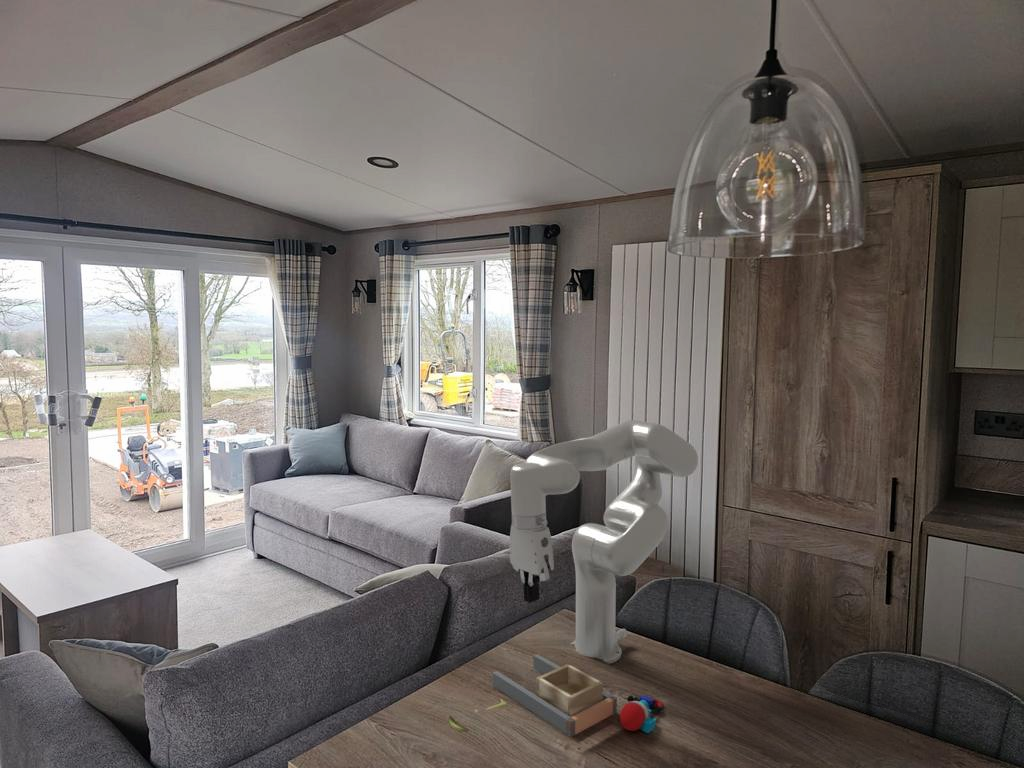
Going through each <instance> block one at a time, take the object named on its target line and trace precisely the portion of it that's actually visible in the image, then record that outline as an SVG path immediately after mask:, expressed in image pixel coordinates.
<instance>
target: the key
mask: <svg viewBox="0 0 1024 768" xmlns="http://www.w3.org/2000/svg"><path fill="white" fill-rule="evenodd" d="M500 702H501V703H497V704H495V705H491V706H490V707H487V708H486V710H491V709H497V708H501V707H502V708H503V707H506V706H508V704H507V702H506V701H504V700H503V699H500ZM474 711H475V713H477V714H479V710H478V709H475V710H474ZM454 718H455V717H453V716H452V715H449V716H448V721H449V724H450V726H451V727H452V728H453V729H454V730H456V731H459V732H469V731H470V730H469V729H468V728H467V727H466V726H462V725H459V724H458V723H456V722H455V719H454Z"/></svg>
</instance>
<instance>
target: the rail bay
mask: <svg viewBox="0 0 1024 768" xmlns="http://www.w3.org/2000/svg"><path fill="white" fill-rule="evenodd" d="M532 658H533V663H532V664H533V665H532V667H533V669H534V670H536V671H538V672H539V673H541V674H542V675H544V674H546V673H549V672H551V671H553V670H555V669H558V668H560V667H561V666H559V665H558V664H556V663H554V662H552V661H551V660H549V659H547V658H546V657H544V656H542V655H540V654H538V653H537V654H533V657H532ZM492 687H494V688H495V689H497V690H499V691H500V692H501V693H503V694H504V695H506V696H508V698H511V699H512V700H514V701H515V702H517V703H518V704H519V705H521V706H523V707H524V708H525V709H527V710H529V711H531V712H532V713H534V714H535V715H536V716H537V717H539V718H541V719H542V720H544V721H545V722H547V723H549V724H550V725H552V726H553V727H555V728H556V729H557V730H558V731H561V732H562V733H564V734H565V735H566V736H568V737H569V738H572V737H574V736H576V735H577V734H579V733H581V732H583V731H585V730H587V729H588V728H590V727H592V726H594V725H596V724H598V723H600V722H601V721H603V720H605V719H607V718H609V717H610V716H612V715H614V714H616V713H617V712H618V708H617V707H618V701H617V700H618V698H617V697H615V696H614V695H612V694H610V693H608V692H607V691H604V690H603V701H601V702H599V703H597V704H595V705H594V706H592V707H590V708H588V709H586V710H584V711H582V712H580V713H578V714H576V715H574V716H572V717H570V716H568V715H567V714H565V713H563V712H562V711H560V710H559V709H557V708H555V707H554V706H552V705H551V704H549V703H547V702H546V701H544V700H543V699H541V698H539V697H538V696H536V694H535V693H533V692H531V691H530V690H529V689H527V688H525V687H524V686H522V685H520V684H518V683H517V681H514V680H512V679H511V678H510V677H507V676H506V675H504V674H502V673H501V672H499V671H498V670H495V671H494V672H492Z"/></svg>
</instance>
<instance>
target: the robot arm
mask: <svg viewBox="0 0 1024 768" xmlns="http://www.w3.org/2000/svg"><path fill="white" fill-rule="evenodd" d="M632 457H634V474H633V478H632V480H631V481H630V483H629V484H628V485H627V486H626V487H625V488H624V489H623V490H622V491H621V492H620V493H619V494H618V495H617V497H615V498H614V500H613V501H611V502H610V504H609V505H608V506H607V507H606V509H605V510H604V513H603V522H604V525H602V524H598V523H595V522H594V523H593V522H588V523H584V524H582V525H580V526H579V527H577V529H576V530H575V532H574V533H573V535H572V541H571V552H572V556H573V557H572V558H573V562H574V570H575V639H574V640H573V641H572V642H571V643H570V645H572V646H574V647H575V650H576V652H577V653H578V654H580V655H582V656H584V657H587V658H592V659H599V660H601V661H603V662H605V663H607V664H609V665H611V664H614V663H616V662H617V661H619V659H621V657H622V648H621V646H620V645H619V644H618V642H619V641H620V639H623V638H625V637H627V636H628V631H627V629H626V628H621V629H619V630H617V631H616V602H617V601H616V598H617V597H616V593H617V591H616V590H617V589H616V588H617V584H616V578H615V575H617V576H621V577H622V576H623V577H624V576H629V575H631V574H632V573H634V572H635V571H637V569H638V568H639V567H640V566H641V565H643V563H644V561H646V559H647V558H648V557H649V556H650V555H651V554H652V553H653V551H654V550H655V549H656V548H657V547H658V546H659V544H660V543H661V542H662V541H663V540H664V538H665V535H666V533H667V530H668V525H669V524H668V523H669V519H668V515H667V513H666V511H665V509H663V507H661V506H660V505H658V504H659V503H660V501H661V499H662V497H663V488H662V487H663V486H662V483H661V474H664V475H670V476H672V477H673V476H674V477H678V478H679V477H680V478H687V477H690V475H692V474H693V473H694V472H695V471H696V469H697V467H698V465H699V456H698V453H697V450H696V449H695V447H694V446H693V445H692V444H691V443H690V442H688V441H687V440H685V439H684V438H682V436H680V435H679V434H676V432H674V431H672V429H670V428H668V427H666V426H665V425H664V424H663V425H662V424H660V423H656V422H649V421H642V420H633V419H631V420H626V421H623V422H621V423H618V424H616V425H614V426H613V427H610V428H608V429H606V430H602V431H601V432H599V433H596V434H594V435H592V436H588V437H582V438H577V439H572V440H568V441H563V442H558V443H555V444H551V445H549V446H547V447H545V448H542V449H539V450H538V451H535V452H534V453H532V454H530V455H529V456H528V457H527V458H526V460H525V461H524V462H521V463H517V464H514V465H513V466H512V467H511V469H510V474H509V479H510V502H511V505H510V507H511V508H510V509H511V525H510V533H509V548H508V549H509V560H510V564H511V565H512V569H514V570H515V571H516V572H518V574H519V576H520V581H521V583H522V585H523V586H522V587H523V601H524V602H526V603H529V604H532V603H534V602H536V601H538V600H539V599H540V584H541V582H545V581H546V582H547V581H549V580H550V573H549V571H550V572H551V571H553V570H554V567H555V565H554V562H555V561H554V549H553V542H552V535H551V532H550V528H549V527H548V526H547V525H548V520H547V509H546V508H547V507H546V506H547V505H546V501H547V500H546V497H547V496H548V495H563V494H569V493H570V492H572V491H573V490H575V489H576V488H577V486H578V484H579V483H580V479H581V474H580V472H597V471H599V472H600V471H605V470H606V471H607V470H609V469H610V468H612V467H614V466H617V465H618V464H621V463H622V462H624V461H626V460H629V459H631V458H632Z"/></svg>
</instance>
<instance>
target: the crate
mask: <svg viewBox="0 0 1024 768" xmlns="http://www.w3.org/2000/svg"><path fill="white" fill-rule="evenodd" d="M535 683H536V684H535V685H536V689H535V690H536V694H535V695H536V696H538V697H539V698H541V699H543V700H544V701H546V702H547V703H549V704H551V705H552V706H554V707H555V708H557V709H559V710H560V711H562V712H563V713H565V714H567V715H568V716H570V717H572V716H574V715H576V714H578V713H580V712H582V711H584V710H586V709H588V708H590V707H592V706H594V705H595V704H597V703H599V702H601V701H603V691H604V682H603V681H600V680H599V679H597V678H595V677H594V676H591V675H589V674H588V673H586V672H583V671H582V670H580V669H578V668H576V667H575V666H572V665H571V664H569V663H566V664H563V666H560V668H558V669H555V670H553V671H551V672H549V673H546V674H542V675H540V676H537V677H536V682H535Z"/></svg>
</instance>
